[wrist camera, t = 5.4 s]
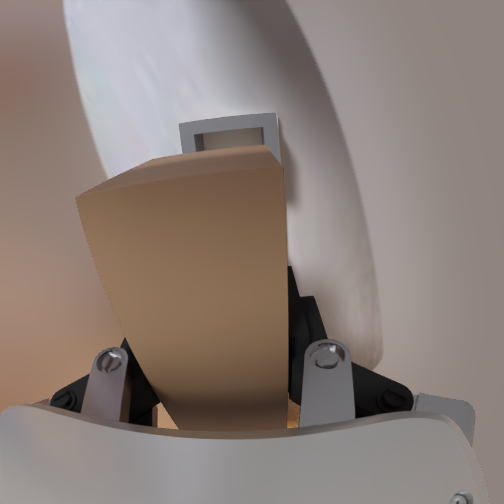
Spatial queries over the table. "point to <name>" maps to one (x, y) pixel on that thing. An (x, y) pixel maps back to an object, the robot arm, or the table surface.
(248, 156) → the brown curved block
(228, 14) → the table surface
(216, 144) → the endcap rail
